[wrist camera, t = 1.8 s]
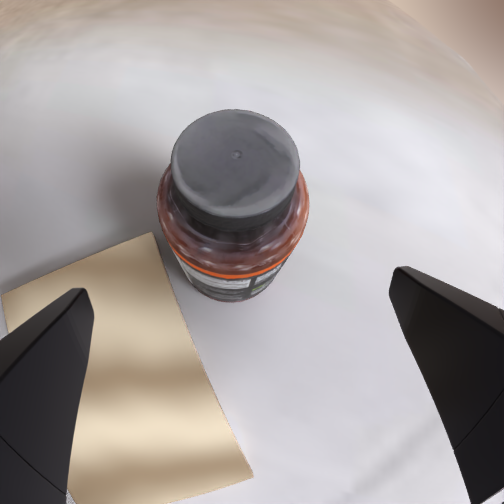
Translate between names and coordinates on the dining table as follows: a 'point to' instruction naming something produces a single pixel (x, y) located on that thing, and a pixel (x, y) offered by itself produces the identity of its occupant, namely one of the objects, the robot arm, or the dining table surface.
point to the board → (137, 385)
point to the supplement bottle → (233, 203)
